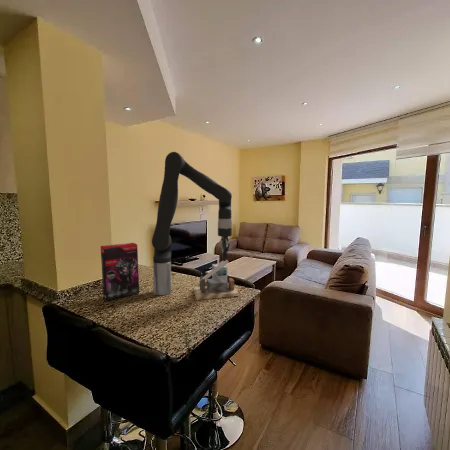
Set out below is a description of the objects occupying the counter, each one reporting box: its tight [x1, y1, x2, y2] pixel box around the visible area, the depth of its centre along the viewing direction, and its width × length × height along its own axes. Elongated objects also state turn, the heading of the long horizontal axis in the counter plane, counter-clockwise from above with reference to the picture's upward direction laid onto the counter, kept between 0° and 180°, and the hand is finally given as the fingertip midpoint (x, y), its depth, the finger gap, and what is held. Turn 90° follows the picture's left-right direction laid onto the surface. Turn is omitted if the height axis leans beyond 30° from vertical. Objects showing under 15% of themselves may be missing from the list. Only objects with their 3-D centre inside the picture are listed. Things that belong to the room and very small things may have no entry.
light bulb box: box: [211, 263, 228, 282], centre depth 154 cm, size 11×7×11 cm, turn 22°
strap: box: [199, 259, 230, 281], centre depth 135 cm, size 18×4×2 cm
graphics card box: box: [100, 242, 140, 302], centre depth 130 cm, size 17×7×27 cm, turn 132°
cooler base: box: [193, 275, 239, 301], centre depth 136 cm, size 22×14×9 cm, turn 103°
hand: (224, 258), depth 136 cm, fingers closed
